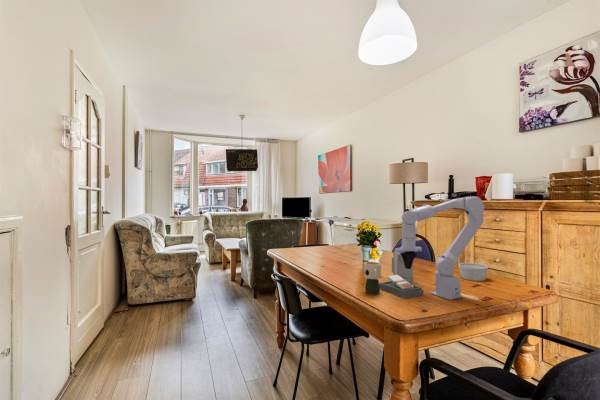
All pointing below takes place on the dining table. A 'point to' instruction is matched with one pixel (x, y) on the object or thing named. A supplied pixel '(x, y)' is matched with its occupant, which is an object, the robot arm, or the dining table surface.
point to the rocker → (400, 282)
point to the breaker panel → (396, 290)
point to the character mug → (372, 276)
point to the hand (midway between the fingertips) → (408, 268)
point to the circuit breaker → (402, 268)
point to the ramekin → (473, 271)
